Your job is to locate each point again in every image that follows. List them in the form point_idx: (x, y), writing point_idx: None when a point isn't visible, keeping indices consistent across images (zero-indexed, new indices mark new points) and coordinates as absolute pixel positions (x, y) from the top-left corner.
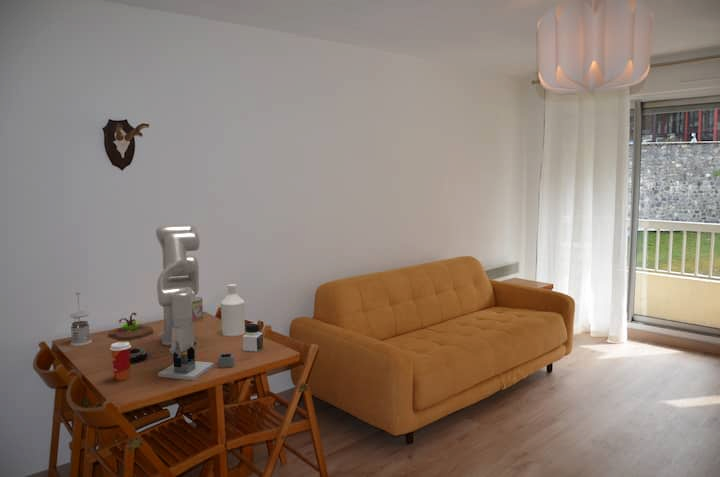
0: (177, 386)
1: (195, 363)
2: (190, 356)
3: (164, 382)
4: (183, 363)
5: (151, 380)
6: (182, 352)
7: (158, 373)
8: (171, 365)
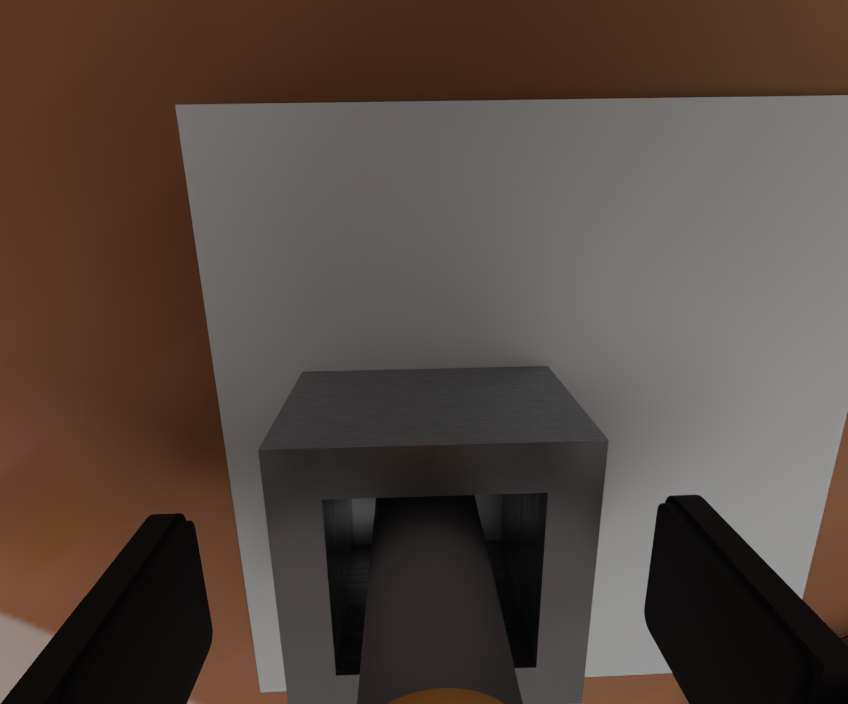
0: (36, 590)
1: (744, 457)
2: (677, 601)
3: (58, 364)
4: (303, 646)
5: (20, 110)
6: None
7: (180, 115)
8: (598, 110)
